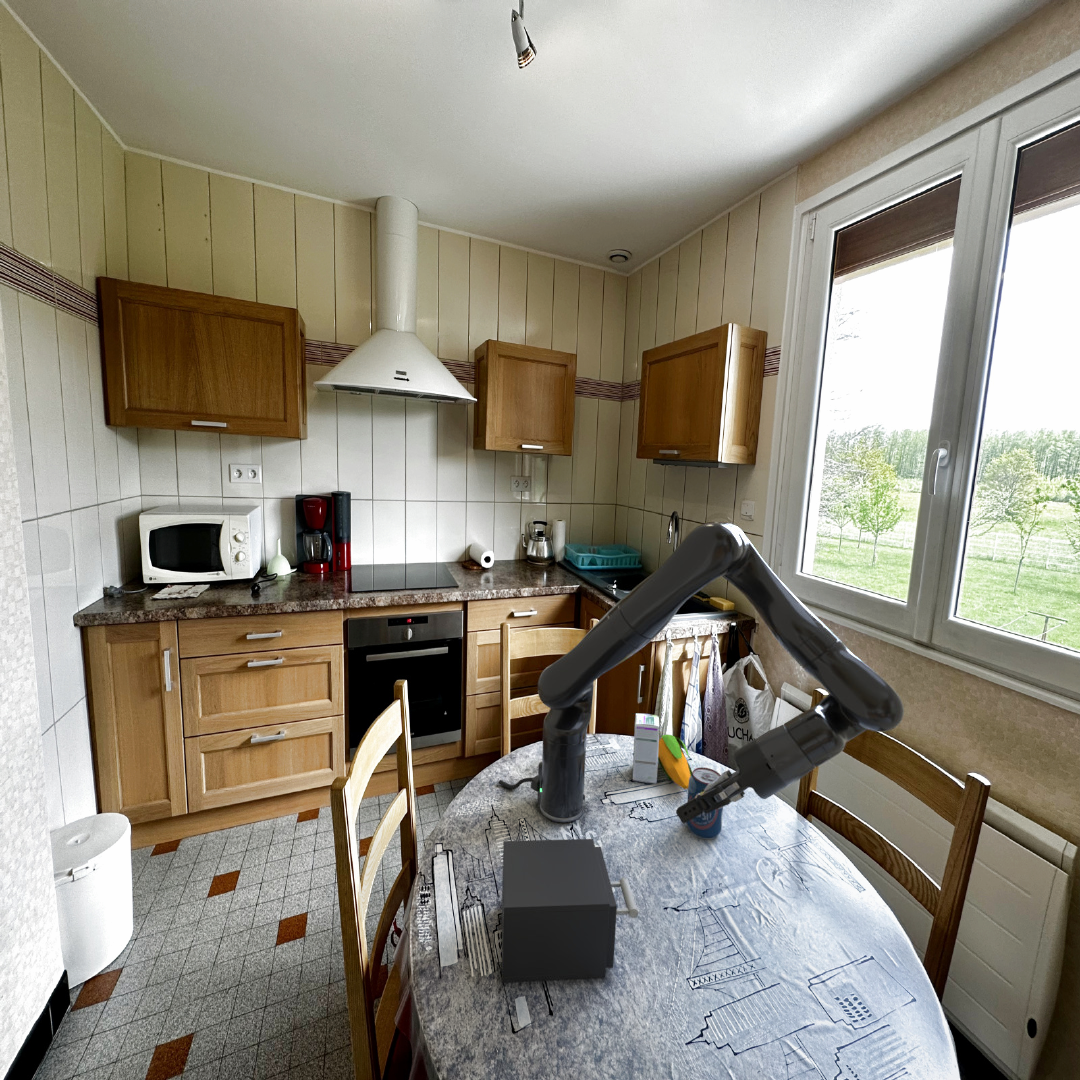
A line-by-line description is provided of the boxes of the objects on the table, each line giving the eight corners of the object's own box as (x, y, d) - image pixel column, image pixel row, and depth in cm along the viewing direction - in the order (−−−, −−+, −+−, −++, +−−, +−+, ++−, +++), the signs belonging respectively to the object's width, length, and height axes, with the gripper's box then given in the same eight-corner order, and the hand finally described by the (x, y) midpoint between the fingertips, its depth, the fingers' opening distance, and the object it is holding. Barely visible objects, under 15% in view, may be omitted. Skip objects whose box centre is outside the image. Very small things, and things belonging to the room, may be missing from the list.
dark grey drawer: (622, 899, 84) (625, 845, 83) (641, 966, 73) (645, 905, 71) (516, 903, 83) (518, 848, 81) (519, 972, 71) (521, 909, 70)
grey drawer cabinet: (589, 903, 84) (593, 838, 83) (605, 978, 72) (609, 903, 70) (501, 906, 83) (503, 840, 82) (501, 983, 70) (504, 907, 69)
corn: (679, 725, 131) (705, 769, 111) (679, 752, 132) (705, 801, 112) (651, 726, 131) (671, 770, 111) (651, 753, 132) (672, 802, 112)
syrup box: (656, 784, 118) (660, 726, 116) (631, 780, 119) (635, 723, 118) (656, 770, 124) (660, 715, 122) (632, 767, 125) (635, 712, 123)
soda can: (683, 835, 101) (687, 780, 100) (687, 814, 108) (691, 762, 106) (720, 845, 99) (724, 789, 97) (721, 824, 105) (725, 770, 104)
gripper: (758, 734, 85) (673, 786, 88) (755, 741, 73) (657, 801, 76) (789, 778, 81) (699, 830, 84) (791, 792, 70) (687, 852, 73)
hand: (679, 816), depth 80 cm, fingers closed
